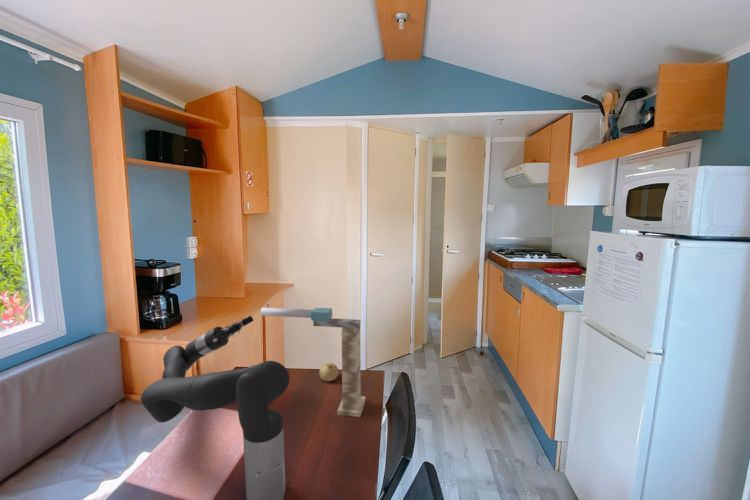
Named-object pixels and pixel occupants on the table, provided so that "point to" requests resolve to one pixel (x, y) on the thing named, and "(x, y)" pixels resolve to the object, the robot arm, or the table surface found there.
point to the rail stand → (349, 365)
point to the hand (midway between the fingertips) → (245, 322)
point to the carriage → (300, 313)
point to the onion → (328, 372)
